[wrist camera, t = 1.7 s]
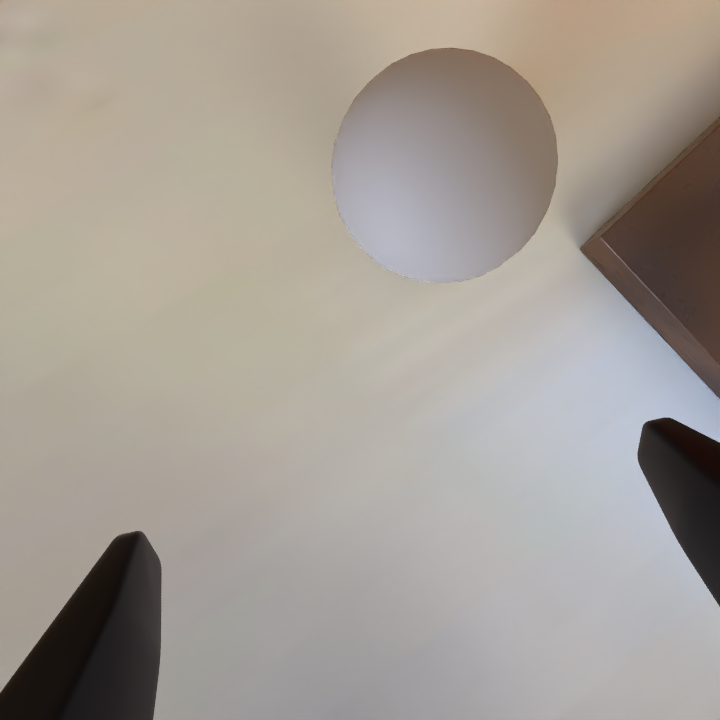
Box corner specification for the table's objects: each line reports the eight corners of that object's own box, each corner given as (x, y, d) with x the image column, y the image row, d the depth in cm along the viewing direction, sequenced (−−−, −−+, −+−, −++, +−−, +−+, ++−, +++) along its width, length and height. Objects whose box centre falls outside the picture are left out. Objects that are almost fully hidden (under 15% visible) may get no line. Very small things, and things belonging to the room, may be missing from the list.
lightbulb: (432, 142, 24) (503, -58, 13) (511, 264, 24) (650, 165, 13) (309, 219, 24) (276, 79, 13) (388, 343, 24) (423, 309, 13)
